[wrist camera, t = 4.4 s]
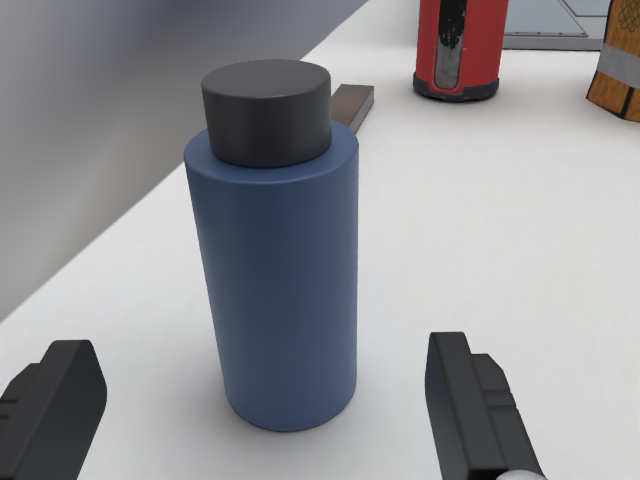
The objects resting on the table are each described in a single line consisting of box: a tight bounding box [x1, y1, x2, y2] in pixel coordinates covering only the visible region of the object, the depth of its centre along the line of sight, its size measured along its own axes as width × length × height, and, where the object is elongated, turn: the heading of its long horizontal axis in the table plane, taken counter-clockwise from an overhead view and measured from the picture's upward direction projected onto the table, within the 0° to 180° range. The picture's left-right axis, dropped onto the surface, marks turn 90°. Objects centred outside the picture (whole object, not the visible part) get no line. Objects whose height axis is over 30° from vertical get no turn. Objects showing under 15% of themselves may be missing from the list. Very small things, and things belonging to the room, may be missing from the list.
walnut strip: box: [331, 84, 374, 134], centre depth 41 cm, size 18×3×2 cm, turn 164°
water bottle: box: [184, 59, 359, 431], centre depth 19 cm, size 5×5×12 cm
